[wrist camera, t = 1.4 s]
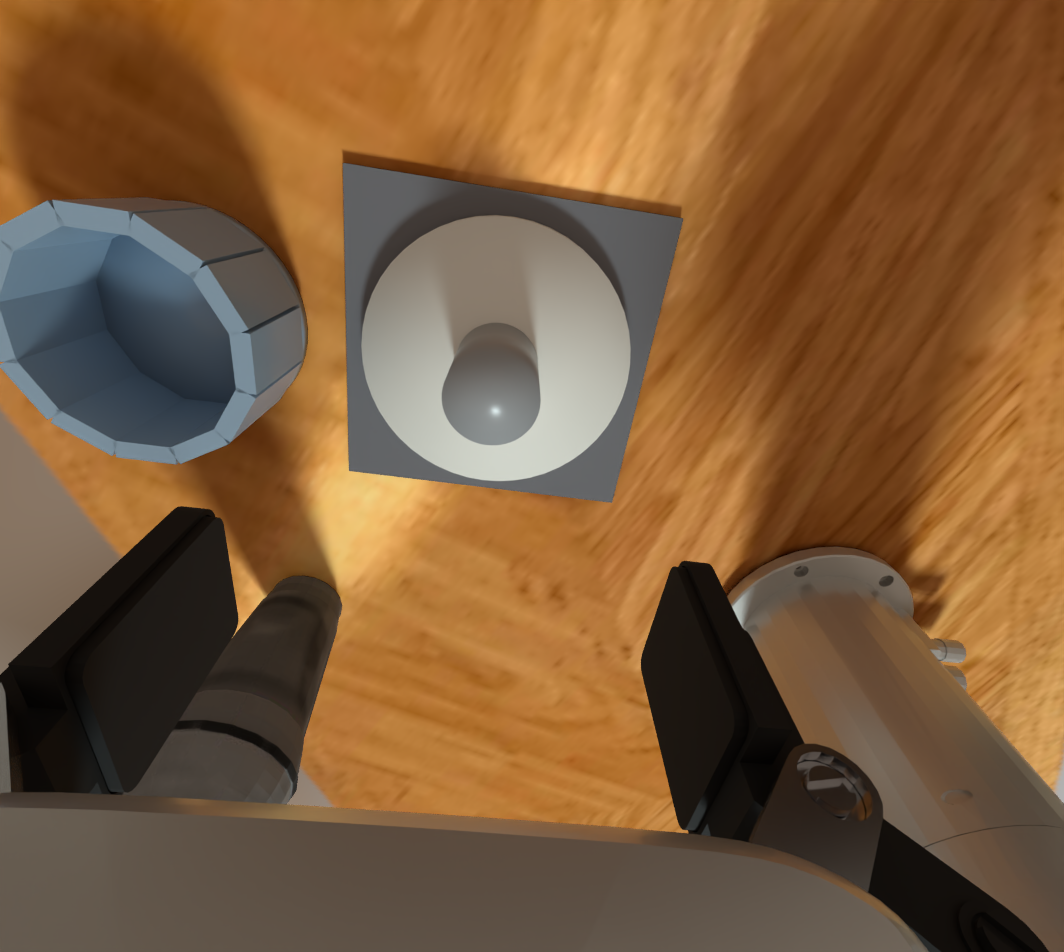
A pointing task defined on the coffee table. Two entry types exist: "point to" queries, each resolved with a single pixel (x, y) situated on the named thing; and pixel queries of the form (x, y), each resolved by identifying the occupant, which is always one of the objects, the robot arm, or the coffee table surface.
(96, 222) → the bowl
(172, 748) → the beverage cup
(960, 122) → the coffee table surface
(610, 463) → the mat
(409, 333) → the lid
